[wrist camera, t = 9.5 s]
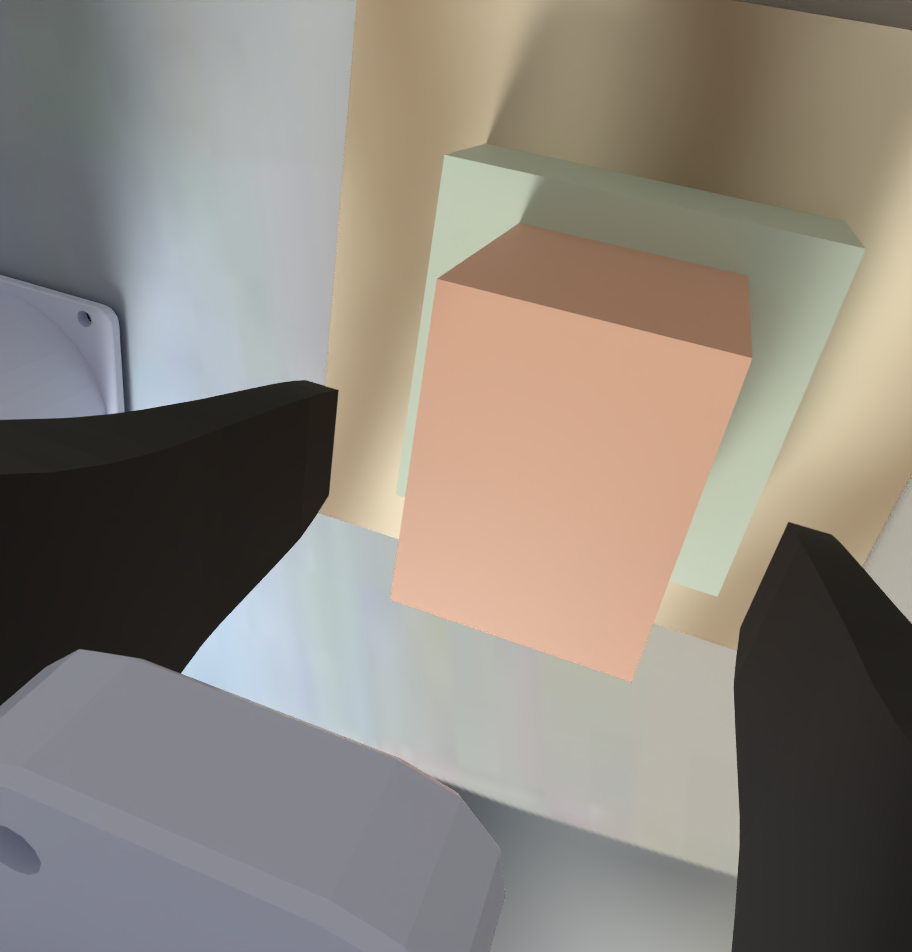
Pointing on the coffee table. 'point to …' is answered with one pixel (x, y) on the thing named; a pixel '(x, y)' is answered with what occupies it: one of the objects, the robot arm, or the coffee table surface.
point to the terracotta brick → (566, 439)
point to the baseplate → (654, 157)
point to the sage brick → (684, 238)
